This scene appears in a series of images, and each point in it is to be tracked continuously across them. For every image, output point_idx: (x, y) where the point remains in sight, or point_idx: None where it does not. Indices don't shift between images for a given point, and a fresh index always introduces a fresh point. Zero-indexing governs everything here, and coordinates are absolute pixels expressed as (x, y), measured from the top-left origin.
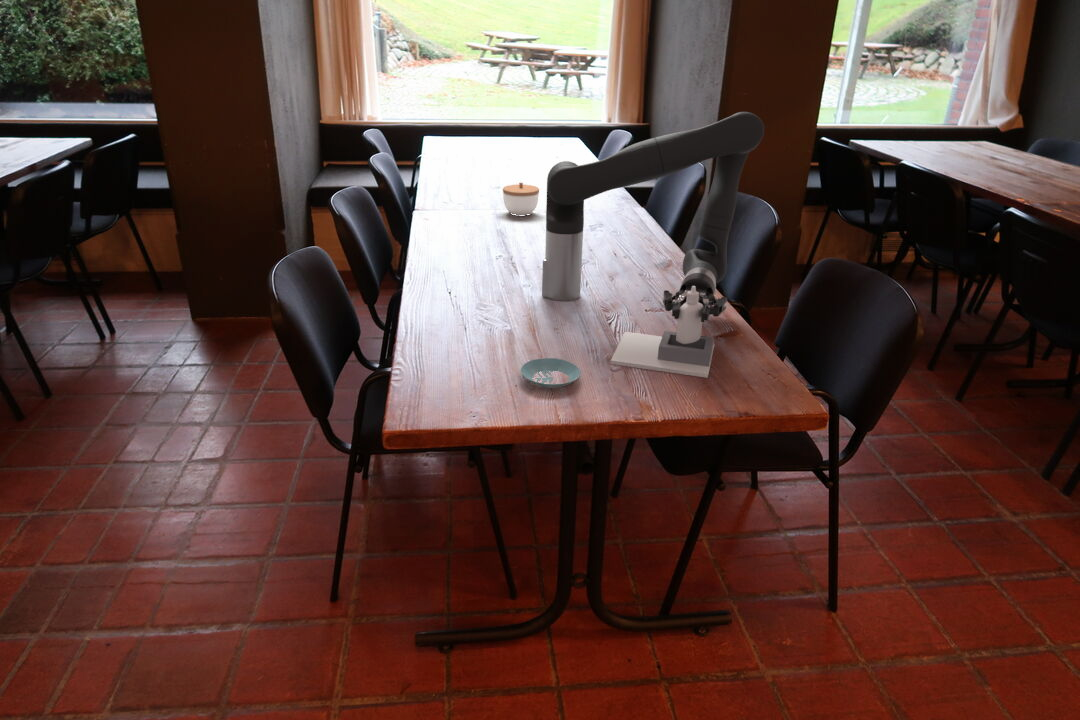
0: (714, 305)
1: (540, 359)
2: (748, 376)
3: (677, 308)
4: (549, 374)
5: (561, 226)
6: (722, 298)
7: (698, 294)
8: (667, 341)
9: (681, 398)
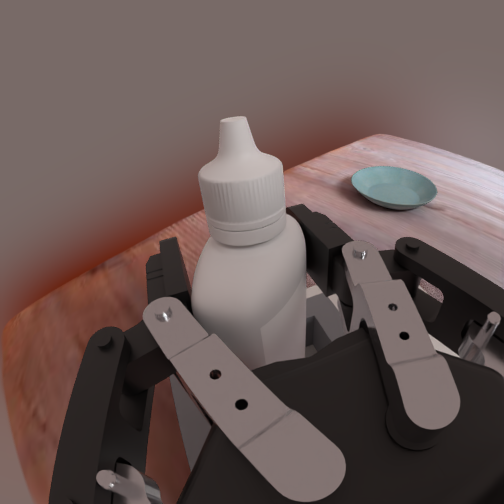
0: (120, 331)
1: (435, 193)
2: None
3: (298, 208)
4: (405, 199)
5: None
6: (79, 489)
7: (199, 173)
8: (328, 332)
9: (197, 251)
